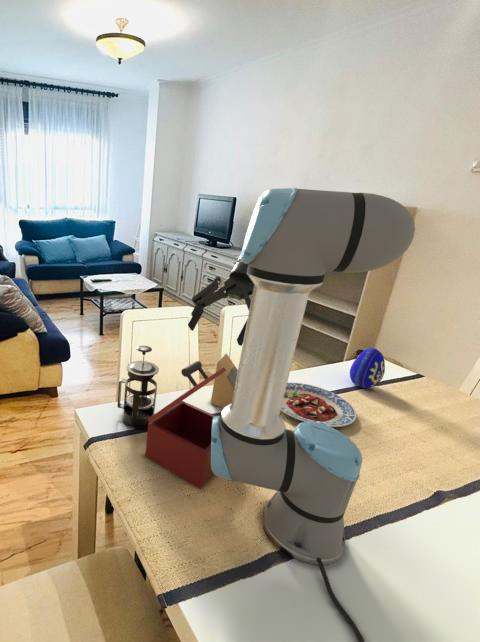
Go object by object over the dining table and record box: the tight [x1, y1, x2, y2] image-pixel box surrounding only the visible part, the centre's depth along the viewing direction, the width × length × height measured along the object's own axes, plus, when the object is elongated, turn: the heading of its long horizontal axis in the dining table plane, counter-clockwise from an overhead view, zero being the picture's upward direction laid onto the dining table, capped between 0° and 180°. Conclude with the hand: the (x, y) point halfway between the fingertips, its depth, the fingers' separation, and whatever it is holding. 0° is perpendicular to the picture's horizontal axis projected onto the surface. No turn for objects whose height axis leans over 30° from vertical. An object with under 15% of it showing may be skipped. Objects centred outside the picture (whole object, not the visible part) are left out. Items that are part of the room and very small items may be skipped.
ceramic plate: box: [280, 382, 357, 428], centre depth 123 cm, size 26×26×3 cm
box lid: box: [148, 360, 226, 422], centre depth 94 cm, size 17×15×6 cm
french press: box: [117, 345, 160, 430], centre depth 108 cm, size 12×9×23 cm
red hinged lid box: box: [144, 400, 216, 490], centre depth 96 cm, size 16×15×10 cm
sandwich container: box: [210, 352, 238, 409], centre depth 119 cm, size 9×15×15 cm, turn 58°
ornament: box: [349, 347, 386, 390], centre depth 137 cm, size 11×9×15 cm
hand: (213, 335), depth 97 cm, fingers open, 13 cm apart
